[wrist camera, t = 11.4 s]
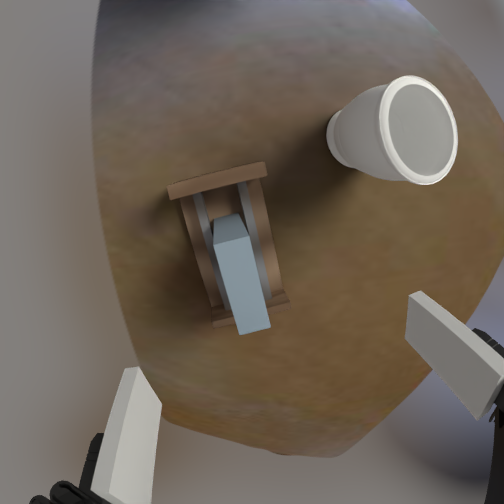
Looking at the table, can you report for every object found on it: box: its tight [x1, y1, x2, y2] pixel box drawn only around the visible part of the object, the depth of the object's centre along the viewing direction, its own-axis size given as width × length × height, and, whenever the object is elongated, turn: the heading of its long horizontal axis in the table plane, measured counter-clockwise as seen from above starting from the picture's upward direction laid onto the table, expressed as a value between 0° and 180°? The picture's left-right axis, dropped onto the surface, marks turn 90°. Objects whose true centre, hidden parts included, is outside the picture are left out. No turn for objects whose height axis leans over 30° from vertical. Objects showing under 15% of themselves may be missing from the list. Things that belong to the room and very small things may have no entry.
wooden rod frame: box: [167, 161, 291, 328], centre depth 33 cm, size 18×10×7 cm, turn 13°
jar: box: [326, 76, 458, 185], centre depth 27 cm, size 11×10×15 cm
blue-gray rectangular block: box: [213, 213, 271, 335], centre depth 30 cm, size 9×3×12 cm, turn 13°
